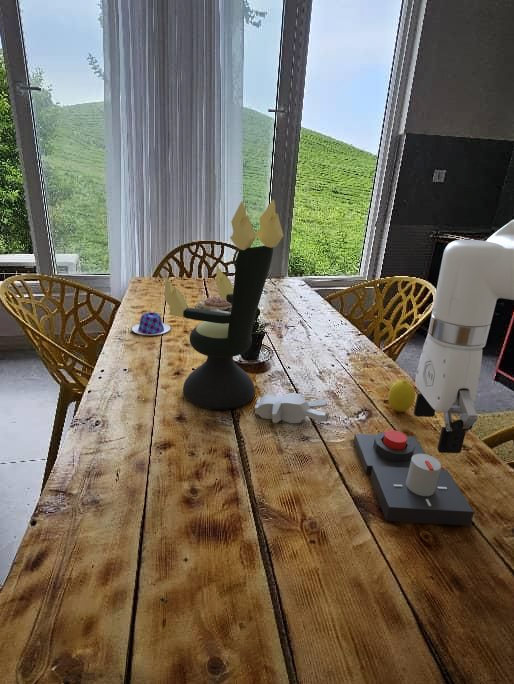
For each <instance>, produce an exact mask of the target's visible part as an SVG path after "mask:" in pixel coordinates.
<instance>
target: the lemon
mask: <svg viewBox="0 0 514 684" xmlns="http://www.w3.org/2000/svg"><path fill="white" fill-rule="evenodd" d="M387 399H388V401H387V402H388V404H389V405H390V407H391V408H392V409H393V410H394V411H396V412H397V413H401V412H406V411H408V410H409V409H411V408H412V407H413V405H414V403H415V401H416V400H415V399H416V390H415V387H414V386H413V385H412V384H411V383H410V382H409V381H407V379H403V380H398V381H396V382H394V383H393V384H392V385H391V386H390V388H389V391H388V394H387Z"/></svg>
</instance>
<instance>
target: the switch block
mask: <svg viewBox="0 0 514 684" xmlns="http://www.w3.org/2000/svg"><path fill="white" fill-rule="evenodd" d="M385 432H386V431H382V432H379V433H377V434H369V433H354V437H353V444H354V447H355V449H356V453H357V455H358V458H359V460H360V463H361V465H362V468H363V472H364V473H365V475H368V476H371V471H372V466H384V467H403V468H410V463H411V459H412V456H413V455H415V454H427V452H426V451H425V450H424V448H423V446H422V444H421V443H420V441H419V440H418V438H417V436H408V435H406V437H407V443H406V447H405V449H403V450H395V449H392V448H389V447H387V446H386V445H384V443H383V439H384V434H385Z"/></svg>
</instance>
